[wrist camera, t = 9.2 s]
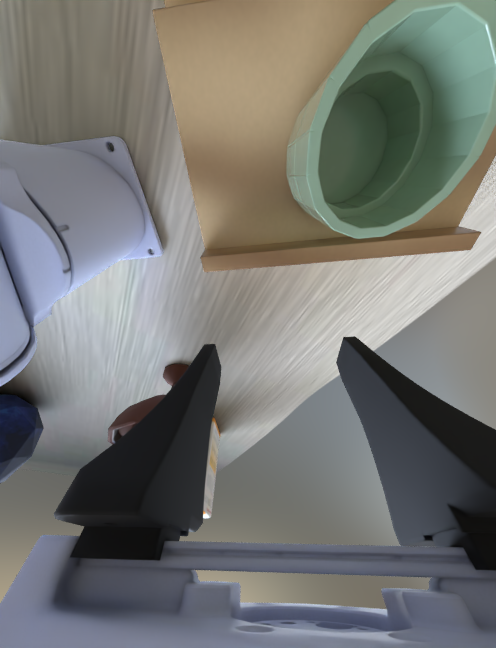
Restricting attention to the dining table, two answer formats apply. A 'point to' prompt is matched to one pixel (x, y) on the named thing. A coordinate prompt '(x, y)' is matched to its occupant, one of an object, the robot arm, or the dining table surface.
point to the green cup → (397, 117)
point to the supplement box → (211, 469)
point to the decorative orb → (17, 433)
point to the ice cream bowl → (142, 406)
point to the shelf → (274, 130)
